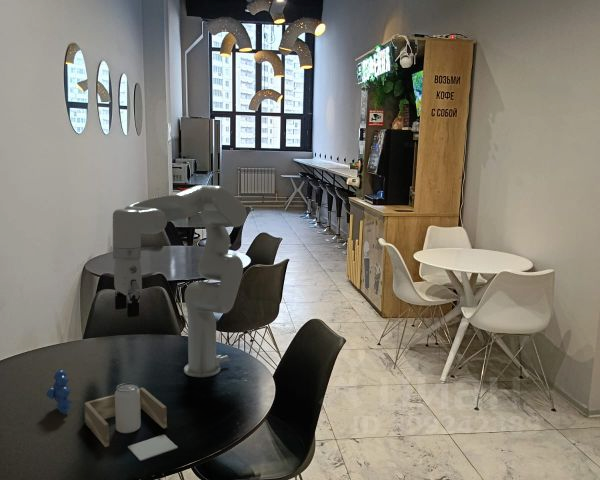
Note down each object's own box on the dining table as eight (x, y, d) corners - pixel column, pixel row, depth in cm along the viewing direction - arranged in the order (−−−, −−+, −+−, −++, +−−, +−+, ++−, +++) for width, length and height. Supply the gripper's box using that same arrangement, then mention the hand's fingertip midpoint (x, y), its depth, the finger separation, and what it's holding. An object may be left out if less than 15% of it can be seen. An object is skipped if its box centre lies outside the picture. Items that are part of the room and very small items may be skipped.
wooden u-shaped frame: (143, 406, 163) (142, 387, 162) (166, 427, 151) (166, 407, 150) (84, 422, 153) (83, 402, 152) (105, 447, 140) (104, 425, 140)
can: (133, 435, 147) (132, 393, 145) (111, 432, 148) (109, 390, 146) (144, 423, 153) (143, 383, 151) (123, 421, 154) (122, 380, 152)
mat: (163, 435, 147) (163, 434, 147) (177, 448, 141) (177, 446, 141) (127, 447, 141) (127, 446, 141) (140, 461, 134) (140, 459, 134)
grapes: (43, 405, 162) (41, 367, 160) (68, 400, 166) (66, 363, 164) (50, 422, 153) (47, 381, 151) (75, 416, 156) (73, 376, 154)
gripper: (151, 256, 149) (151, 318, 151) (128, 248, 163) (128, 304, 165) (124, 258, 145) (124, 321, 147) (103, 249, 158) (103, 307, 160)
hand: (126, 312), depth 156 cm, fingers open, 9 cm apart
